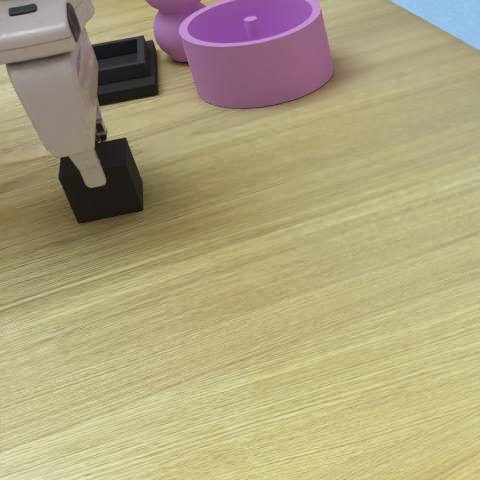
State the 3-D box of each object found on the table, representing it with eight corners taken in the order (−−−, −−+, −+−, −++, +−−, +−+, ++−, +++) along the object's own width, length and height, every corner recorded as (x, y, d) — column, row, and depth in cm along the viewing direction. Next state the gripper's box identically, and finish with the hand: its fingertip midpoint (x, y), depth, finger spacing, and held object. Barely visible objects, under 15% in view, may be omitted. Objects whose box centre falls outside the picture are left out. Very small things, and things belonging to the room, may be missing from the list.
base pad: (66, 111, 115) (56, 87, 113) (71, 65, 125) (62, 41, 123) (158, 94, 117) (150, 70, 115) (156, 49, 126) (148, 26, 124)
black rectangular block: (77, 223, 97) (58, 177, 94) (79, 194, 101) (60, 149, 98) (143, 210, 98) (125, 164, 95) (142, 181, 102) (126, 136, 99)
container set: (361, 67, 117) (335, -63, 108) (254, 120, 110) (216, -15, 100) (226, 26, 130) (193, -94, 120) (122, 70, 122) (77, -54, 113)
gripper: (4, -30, 94) (67, 122, 103) (-17, 52, 79) (59, 218, 89) (76, -43, 94) (132, 109, 104) (67, 36, 80) (133, 202, 90)
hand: (98, 160), depth 97 cm, fingers open, 8 cm apart
